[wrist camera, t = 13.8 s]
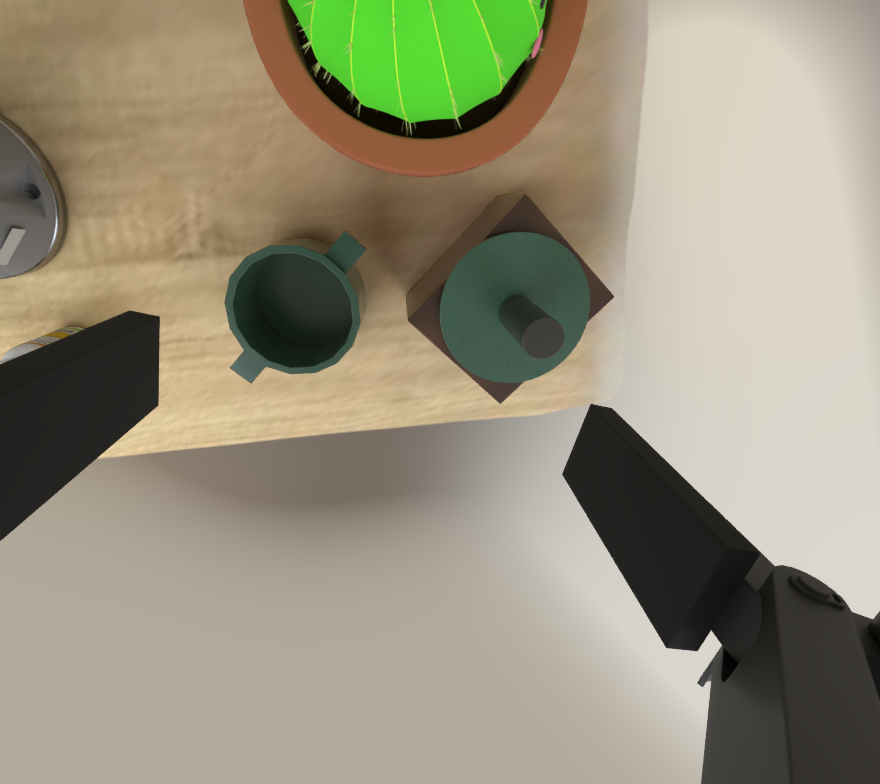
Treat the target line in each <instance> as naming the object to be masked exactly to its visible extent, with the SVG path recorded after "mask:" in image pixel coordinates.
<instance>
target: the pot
mask: <svg viewBox="0 0 880 784" xmlns="http://www.w3.org/2000/svg"><path fill="white" fill-rule="evenodd" d="M366 250H367V249H366V248H365V247H364V246H363V245H362V244H361V243H360V242H359V241H358V240H357V239H355V238H354V237H353V236H352V235H351V234H350V233H349V232H348V231H347V230H345V231H344V232H343V234H342V235H341V236H340V237H339V238H338V239H337V241H336V242H335V243H334V244H333V245H330V244H328V243H326V242H323V241H320V240H316V239H314V238H297V239H287V240H284V241H281V242H279V243H276V244H273V245H270V246H268V247H266V248H264V249H262V250H260V251H257V252H255V253H253V254H251V255H249V256H247V257H246V258H245V259H244V260H243V261H242V263H241V264H240V265H239V266H238V268H237V269H236V270H235V271H234V273H233V274H232V275H231V277H230V279H229V284H228V289H227V293H226V298H225V307H226V312H227V317H228V322H229V326H230V329H231V331H232V332H233V334H234V336H235V337H236V339H237V340H238V342H239V343H240V345H241V346H242V348H243V349H244V352H243V353H242V354H241V355H240V356H239V358H238V359H237V360H236V361H235V362H234V364H233V365H232V366H231V367H230V369H232V370H233V371H235V372H236V373H237V374H239V375H240V376H241V377H243V378H244V379H246V380H247V381H248V382H250V383H252V382H253V381H254V380H255V379H256V377H257V376H258V375H259V374H260V373H261V372H262V370H263V369H264V368H265V367H269V368H272V369H276V370H279V371H282V372H285V373H288V374H304V373H316V372H319V371H321V370H323V369H325V368H328V367H330V366H332V365H334V364H336V363H338V362H339V361H340V359H341V358H342V357H343V356H344V355H345V354H346V353H347V352H348V351H349V350H350V348H351V347H352V346H353V344H354V341H355V338H356V335H357V332H358V329H359V326H360V323H361V319H362V316H363V313H364V309H365V291H364V284H363V282H362V279H361V277H360V274H359V272H358V270H357V269H356V267H355V266H354V264H355V263H356V262H357V260H358V259H359V258H360V257H361V256H362V255H363V253H364V252H365V251H366Z"/></svg>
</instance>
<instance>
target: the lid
mask: <svg viewBox="0 0 880 784" xmlns="http://www.w3.org/2000/svg"><path fill="white" fill-rule="evenodd" d="M589 310H590V293H589V286H588V282H587V278H586V276H585V273H584V271H583V269H582V267H581V265H580V263H579V262H578V260H577V259H576V258H575V256H574V255H573V254H572V253H571V252H570V251H569V250H568V249H567V248H566V247H564V246H563V245H562V244H560V243H559V242H557V241H555V240H554V239H552V238H550V237H547V236H544V235H541V234H538V233H532V232H523V231H516V232H507V233H502V234H498V235H495V236H493V237H490V238H487V239H486V240H484V241H482V242H480V243H478V244H477V245H475V246H474V247H473V248H471V249H470V250H469V251H468V252H467V253H466V254H465V255H463V256H462V257H461V259H460V260H459V261H458V262H457V263H456V265H455V266H454V267H453V269H452V271H451V272H450V274H449V276H448V278H447V280H446V282H445V284H444V288H443V291H442V294H441V299H440V308H439V317H440V326H441V330H442V334H443V337H444V340H445V342H446V344H447V346H448V348H449V350H450V352H451V353H452V355H453V356H454V357H455V359H456V360H457V361H458V362H459V363H460V364H461V365H462V366H463V367H465V368H466V369H467V370H468V371H470V372H471V373H473V374H475V375H477V376H479V377H481V378H484V379H486V380H490V381H494V382H501V383H516V382H523V381H527V380H531V379H534V378H537V377H539V376H541V375H543V374H545V373H547V372H549V371H551V370H552V369H554V368H555V367H556V366H558V365H559V364H560V363H561V362H563V361H564V360H565V359H566V358H567V356H568V355H569V354H570V353H571V352H572V351H573V349H574V348H575V347H576V345H577V343H578V342H579V340H580V338H581V336H582V334H583V332H584V330H585V327H586V324H587V320H588V316H589Z"/></svg>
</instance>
